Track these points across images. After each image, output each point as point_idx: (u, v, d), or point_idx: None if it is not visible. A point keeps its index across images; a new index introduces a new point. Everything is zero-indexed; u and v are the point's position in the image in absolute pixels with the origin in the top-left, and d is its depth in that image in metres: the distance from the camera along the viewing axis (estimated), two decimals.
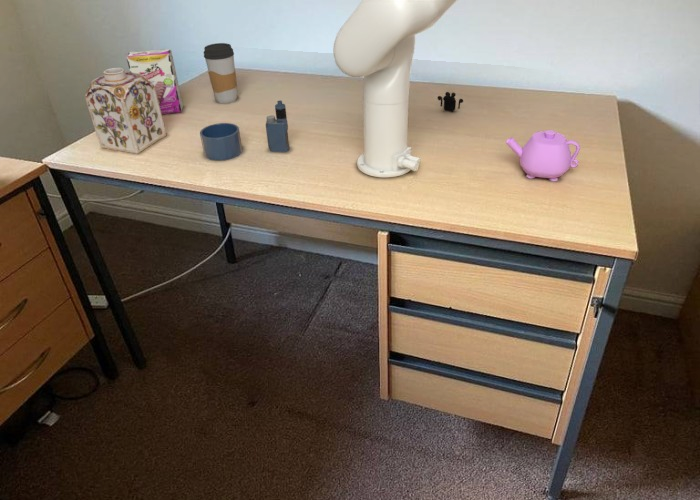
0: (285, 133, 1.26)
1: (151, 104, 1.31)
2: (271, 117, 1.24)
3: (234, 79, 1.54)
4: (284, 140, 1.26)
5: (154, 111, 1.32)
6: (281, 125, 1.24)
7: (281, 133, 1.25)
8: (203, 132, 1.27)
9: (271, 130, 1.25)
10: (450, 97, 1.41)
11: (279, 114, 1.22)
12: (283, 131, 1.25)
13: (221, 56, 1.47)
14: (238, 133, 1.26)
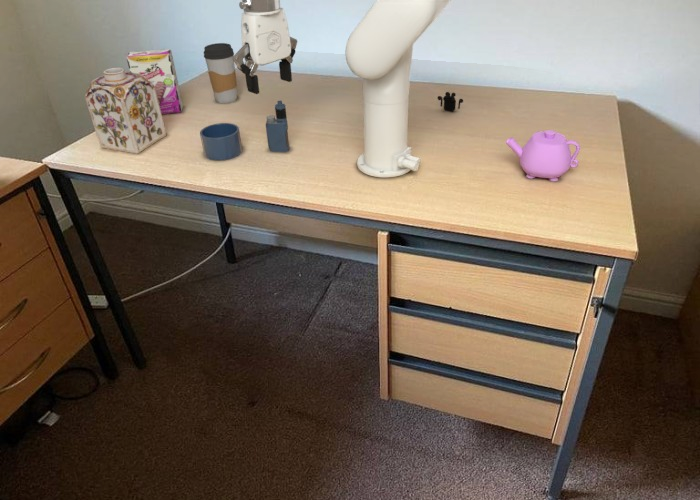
0: (285, 133, 1.26)
1: (151, 104, 1.31)
2: (271, 117, 1.24)
3: (234, 79, 1.54)
4: (284, 140, 1.26)
5: (154, 111, 1.32)
6: (281, 125, 1.24)
7: (281, 133, 1.25)
8: (203, 132, 1.27)
9: (271, 130, 1.25)
10: (450, 97, 1.41)
11: (279, 114, 1.22)
12: (283, 131, 1.25)
13: (221, 56, 1.47)
14: (238, 133, 1.26)
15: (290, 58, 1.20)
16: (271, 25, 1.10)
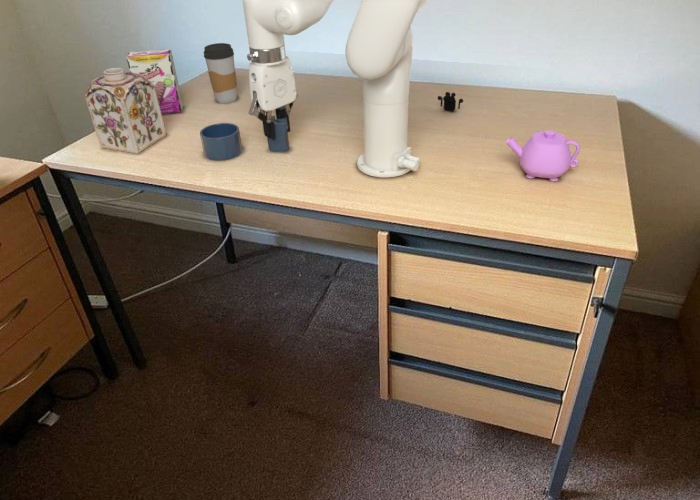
0: (285, 133, 1.26)
1: (151, 104, 1.31)
2: (271, 117, 1.24)
3: (234, 79, 1.54)
4: (284, 140, 1.26)
5: (154, 111, 1.32)
6: (281, 125, 1.24)
7: (281, 133, 1.25)
8: (203, 132, 1.27)
9: None
10: (450, 97, 1.41)
11: (279, 114, 1.22)
12: (283, 131, 1.25)
13: (221, 56, 1.47)
14: (238, 133, 1.26)
15: (288, 110, 1.25)
16: (277, 74, 1.16)
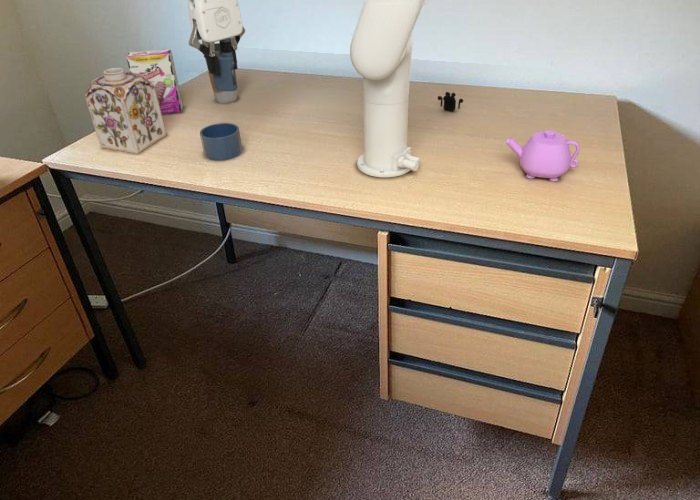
0: (231, 70, 1.17)
1: (151, 104, 1.31)
2: (216, 52, 1.16)
3: None
4: (230, 77, 1.17)
5: (154, 111, 1.32)
6: (226, 60, 1.15)
7: (226, 70, 1.16)
8: (203, 132, 1.27)
9: None
10: (450, 97, 1.41)
11: (223, 47, 1.14)
12: (229, 67, 1.16)
13: None
14: (238, 133, 1.26)
15: (235, 45, 1.16)
16: (218, 0, 1.08)
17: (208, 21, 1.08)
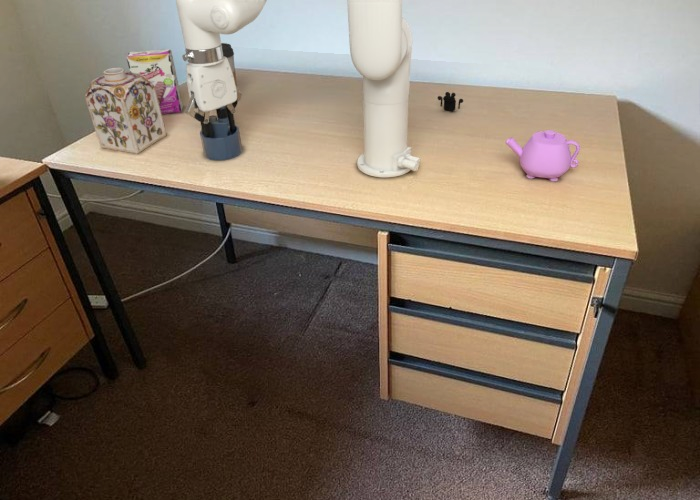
0: (227, 133, 1.25)
1: (151, 104, 1.31)
2: (212, 117, 1.24)
3: (234, 79, 1.54)
4: None
5: (154, 111, 1.32)
6: (222, 125, 1.24)
7: (222, 133, 1.25)
8: None
9: (213, 130, 1.25)
10: (450, 97, 1.41)
11: (219, 114, 1.22)
12: (225, 131, 1.24)
13: None
14: (238, 133, 1.26)
15: (232, 109, 1.25)
16: (214, 74, 1.16)
17: (205, 93, 1.16)
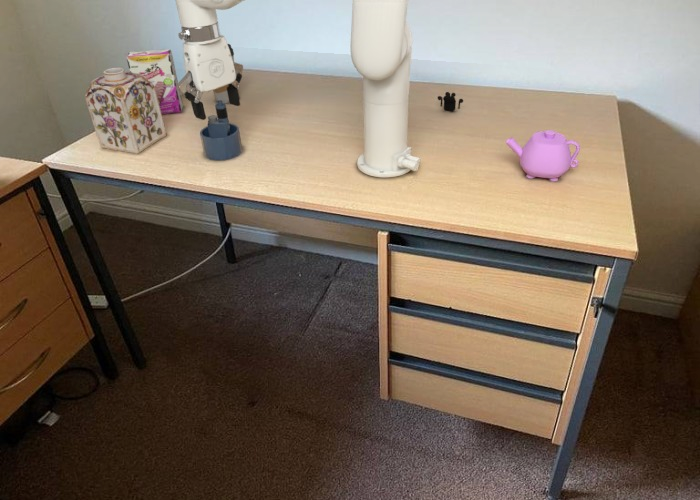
0: (227, 133, 1.25)
1: (151, 104, 1.31)
2: (212, 117, 1.24)
3: None
4: None
5: (154, 111, 1.32)
6: (222, 125, 1.24)
7: (222, 133, 1.25)
8: (203, 132, 1.27)
9: (213, 130, 1.25)
10: (450, 97, 1.41)
11: (219, 114, 1.22)
12: (225, 131, 1.24)
13: None
14: (238, 133, 1.26)
15: (236, 83, 1.23)
16: (211, 53, 1.13)
17: (203, 73, 1.14)
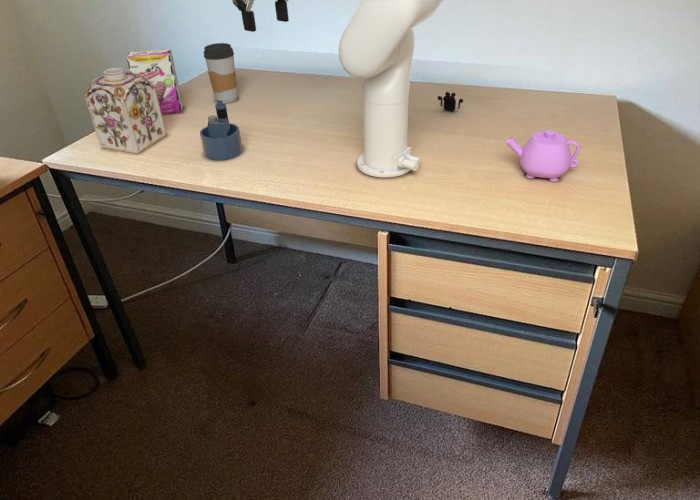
0: (227, 133, 1.25)
1: (151, 104, 1.31)
2: (212, 117, 1.24)
3: (234, 79, 1.54)
4: None
5: (154, 111, 1.32)
6: (222, 125, 1.24)
7: (222, 133, 1.25)
8: (203, 132, 1.27)
9: (213, 130, 1.25)
10: (450, 97, 1.41)
11: (219, 114, 1.22)
12: (225, 131, 1.24)
13: (221, 56, 1.47)
14: (238, 133, 1.26)
15: None
16: None
17: None
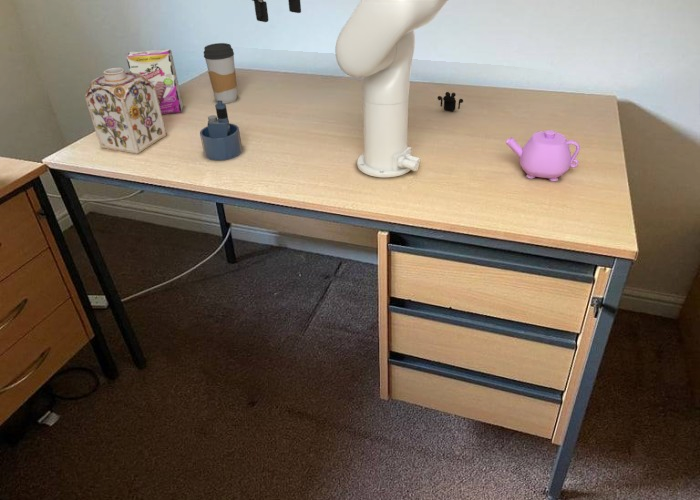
0: (227, 133, 1.25)
1: (151, 104, 1.31)
2: (212, 117, 1.24)
3: (234, 79, 1.54)
4: None
5: (154, 111, 1.32)
6: (222, 125, 1.24)
7: (222, 133, 1.25)
8: (203, 132, 1.27)
9: (213, 130, 1.25)
10: (450, 97, 1.41)
11: (219, 114, 1.22)
12: (225, 131, 1.24)
13: (221, 56, 1.47)
14: (238, 133, 1.26)
15: None
16: None
17: None
